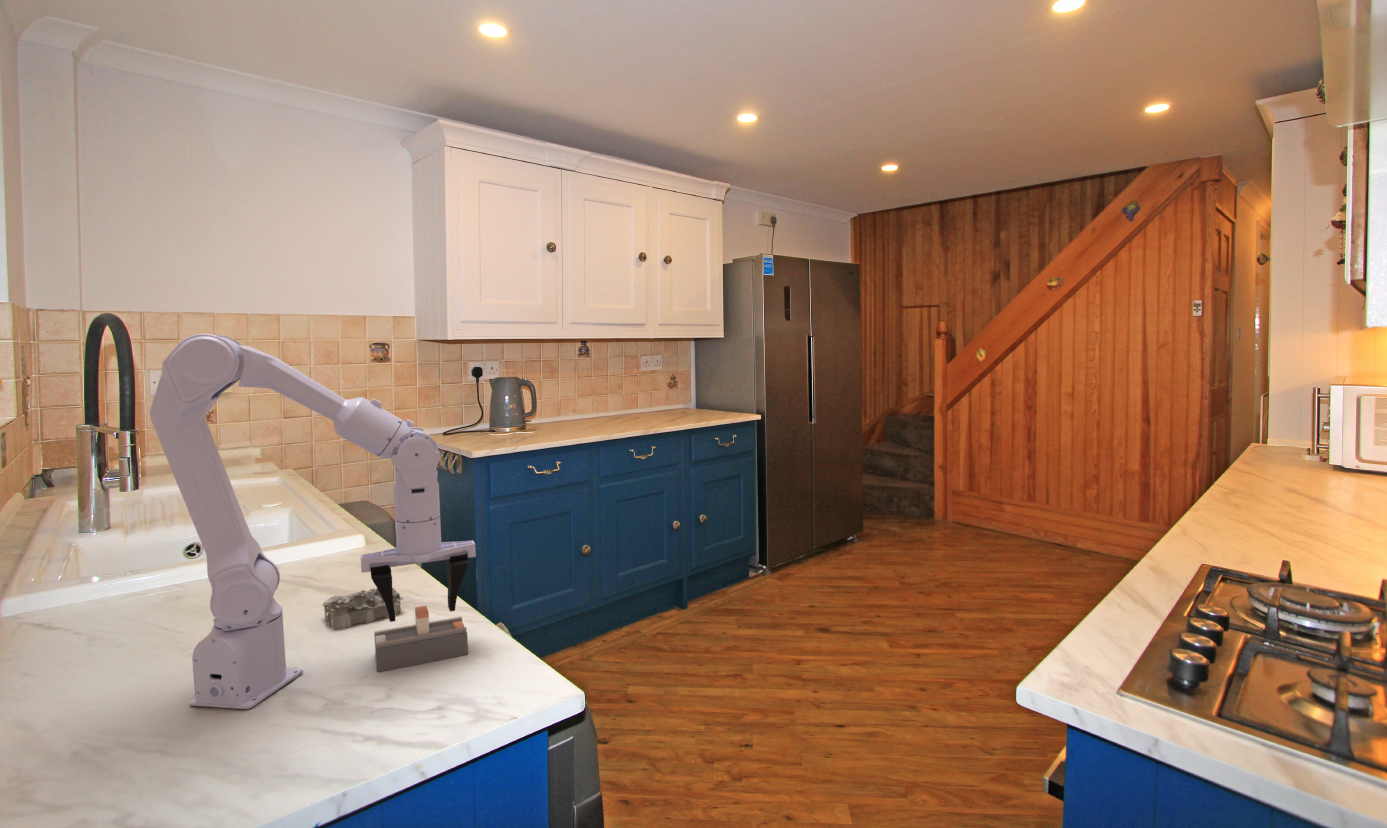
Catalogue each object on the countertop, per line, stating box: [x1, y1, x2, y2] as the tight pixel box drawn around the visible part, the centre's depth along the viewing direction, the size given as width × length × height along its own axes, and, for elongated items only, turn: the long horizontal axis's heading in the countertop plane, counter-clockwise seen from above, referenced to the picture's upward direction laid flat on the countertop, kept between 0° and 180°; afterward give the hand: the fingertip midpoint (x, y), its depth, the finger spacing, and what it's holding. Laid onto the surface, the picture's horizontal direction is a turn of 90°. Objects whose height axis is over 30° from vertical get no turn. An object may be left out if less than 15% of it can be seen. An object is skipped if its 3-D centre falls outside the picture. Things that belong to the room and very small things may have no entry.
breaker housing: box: [373, 616, 469, 673], centre depth 94 cm, size 12×6×4 cm, turn 117°
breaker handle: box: [414, 605, 430, 635], centre depth 94 cm, size 2×3×3 cm, turn 27°
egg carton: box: [321, 587, 404, 630], centre depth 108 cm, size 11×8×4 cm
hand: (422, 613), depth 94 cm, fingers open, 7 cm apart
